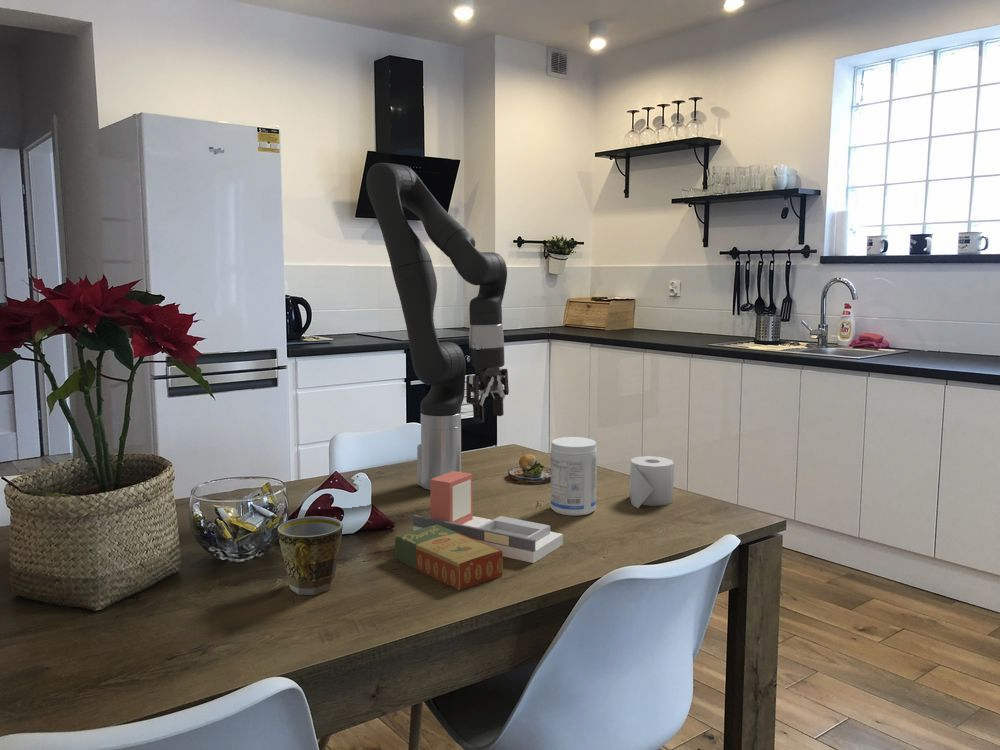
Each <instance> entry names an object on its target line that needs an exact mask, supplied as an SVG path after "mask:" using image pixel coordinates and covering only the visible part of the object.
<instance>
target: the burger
mask: <svg viewBox="0 0 1000 750" xmlns="http://www.w3.org/2000/svg"><path fill="white" fill-rule="evenodd" d="M521 451H522V454H523V455H522V456H521V457H520V458H519V460H518V465H519V466H516V467H513V468H509V470H508V471H507V478H508V480H509V481H511V482H514V483H517V484H524V485H541V483H543V484H549V483H551V467H545V465H543V464H542V463H540V462H538V461H537V459H536V456H535V455H533V454H531V453H528V454H527V453H526V454H524V452H523V450H521ZM543 484H542V485H543Z"/></svg>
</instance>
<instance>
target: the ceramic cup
mask: <svg viewBox="0 0 1000 750" xmlns="http://www.w3.org/2000/svg"><path fill="white" fill-rule="evenodd" d="M343 527H344V525H343V522H342V521H340V520H339V519H337V518H334V517H329V516H318V515H317V516H315V515H314V516H305V517H297V518H294V519H289V520H287V521H285V522H283V523H281V524H280V525H278V527H277V537H278V541H279V545H280V546H279V547H280V550H281V554H282V558H283V563H284V568H285V571H286V576H287V581H288V586H289V588H290V590H291V591H292V592H294V593H296V594H297V595H301V596H302V595H303V596H305V595H306V596H315V595H319V594H322V593H326V592H328V591H330V590H331V588H332V586H333V585H334V582H335V579H336V578H335V577H336V571H337V565H338V558H339V553H340V552H339V551H340V547H341V542H342V536H343V529H344V528H343Z"/></svg>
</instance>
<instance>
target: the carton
mask: <svg viewBox="0 0 1000 750" xmlns="http://www.w3.org/2000/svg"><path fill="white" fill-rule="evenodd" d="M394 541H395V542H394V543H395V544H394V547H395V549H394V551H395V559H396V560H397V561H400V562H402V563H403V564H406V565H408V566H410V567H411V568H413V569H415V570H418V571H419V572H422V573H424V574H425V575H428V576H430V577H432V578H434V579H436V580H438V581H439V582H441V583H444V584H446V585H448V586H450V587H452V588H454V589H456V590H458V591H460V590H463V589H465V588H469V587H472V586H475V585H478V584H482V583H485V582H488V581H490V580H493V579H497V578H500V577H503V573H504V572H503V569H504V568H503V567H504V566H503V565H504V562H503V561H504V556H503V554H502V550H500V549H498V548H495V547H493V546H490V545H487V544H485V543H482V542H480V541H477V540H474V539H472V538H469V537H467V536H465V535H462V534H459V533H457V532H455V531H452V530H450V529H447V528H444V527H442V526H440V525H433V526H430V527H426V528H422V529H419V530H415V531H413V530H411V531H408V532H404V533H400V534H397V535H395V539H394Z"/></svg>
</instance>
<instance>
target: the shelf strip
mask: <svg viewBox="0 0 1000 750" xmlns="http://www.w3.org/2000/svg"><path fill="white" fill-rule="evenodd" d="M412 520H413V522H412V525H413V526H412V528H413V529H412V531H415V530H419V529H422V528H426V527H430V526H433V525H440V526H442V527H444V528H447V529H450V530H452V531H455V532H457V533H459V534H462V535H465V536H467V537H469V538H472V539H474V540H477V541H480V542H482V543H485V544H487V545H490V546H493V547H495V548H498V549H500V550H502V554H503V558H509V559H512V560H513V559H514V560H518V561H522V562H528V563H531V564H535V563H537V562H538V561H539V560H541V559H542V558H544V557H546V556H548V555H549V554H550V553H552V552H554V551H555V550H557V549H559V548H560V547H561V546H563V545H564V533H559V532H555V531H551V525H550V524H544V523H538V522H533V521H528V520H523V519H518V518H513V517H508V516H504V515H500V516H498V517H496V518H494V519H489V518H484V517H480V516H479V517H478V516H475V515H474V516H473V519H472V520H470V521H468V522H466V523H464V524H457V523H452V522H447V521H443V520H438V519H433V518H431V517H428V516H423V515H418V514H413V517H412Z"/></svg>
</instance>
